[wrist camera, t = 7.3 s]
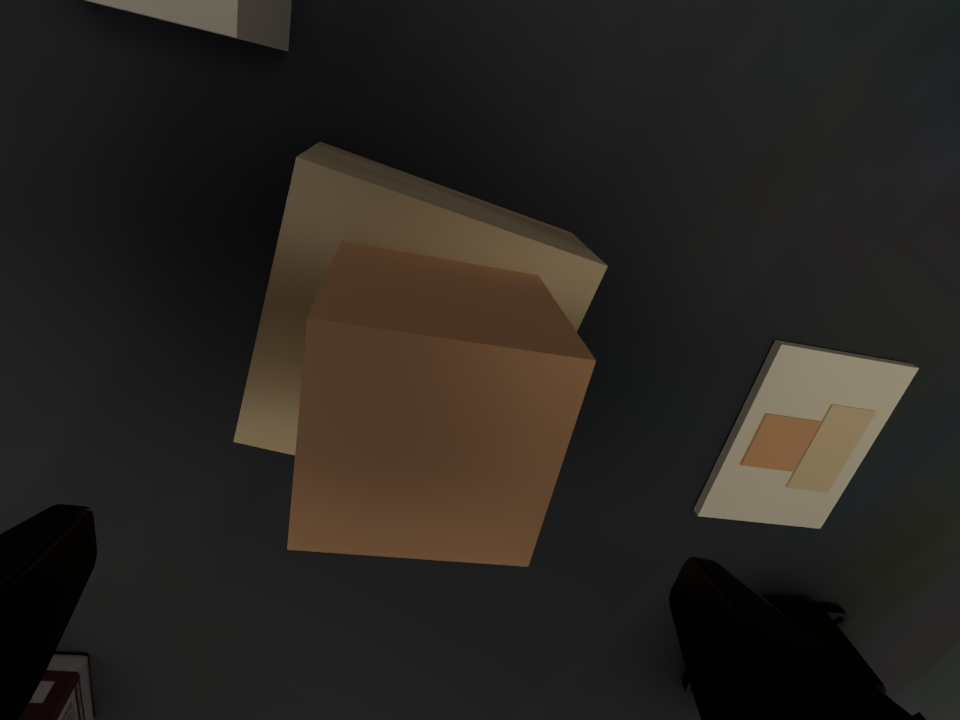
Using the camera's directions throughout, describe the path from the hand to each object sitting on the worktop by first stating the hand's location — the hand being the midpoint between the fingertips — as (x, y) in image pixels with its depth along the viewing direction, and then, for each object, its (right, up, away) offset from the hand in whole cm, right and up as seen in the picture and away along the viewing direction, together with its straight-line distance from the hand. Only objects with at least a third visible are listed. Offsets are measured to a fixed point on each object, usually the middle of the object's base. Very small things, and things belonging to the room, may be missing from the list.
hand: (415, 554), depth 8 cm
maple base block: (-1, +5, +10) cm, 11 cm away
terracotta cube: (0, +3, +6) cm, 7 cm away
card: (+14, 0, +14) cm, 20 cm away
